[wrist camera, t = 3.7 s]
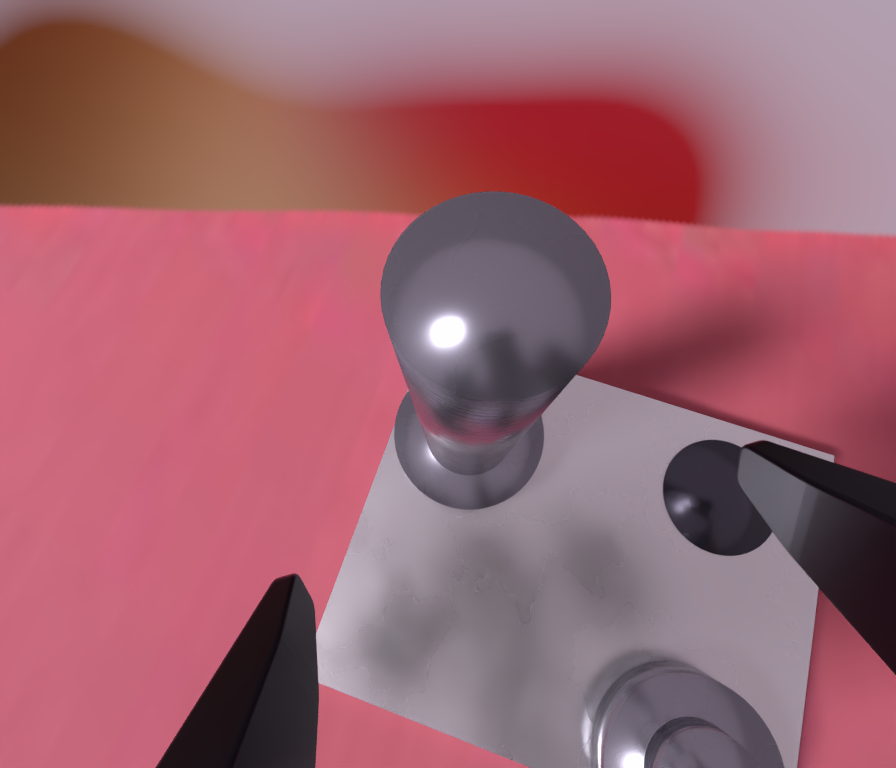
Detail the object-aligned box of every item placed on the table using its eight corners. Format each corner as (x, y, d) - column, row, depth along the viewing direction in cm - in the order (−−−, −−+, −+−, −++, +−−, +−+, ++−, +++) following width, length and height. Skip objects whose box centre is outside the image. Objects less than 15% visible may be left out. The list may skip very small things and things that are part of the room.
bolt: (514, 530, 18) (651, 561, 6) (378, 482, 19) (225, 413, 6) (553, 396, 20) (731, 181, 7) (425, 355, 20) (379, 88, 8)
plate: (760, 851, 16) (784, 877, 15) (308, 670, 18) (298, 681, 17) (812, 459, 20) (835, 455, 19) (431, 339, 22) (430, 329, 20)
